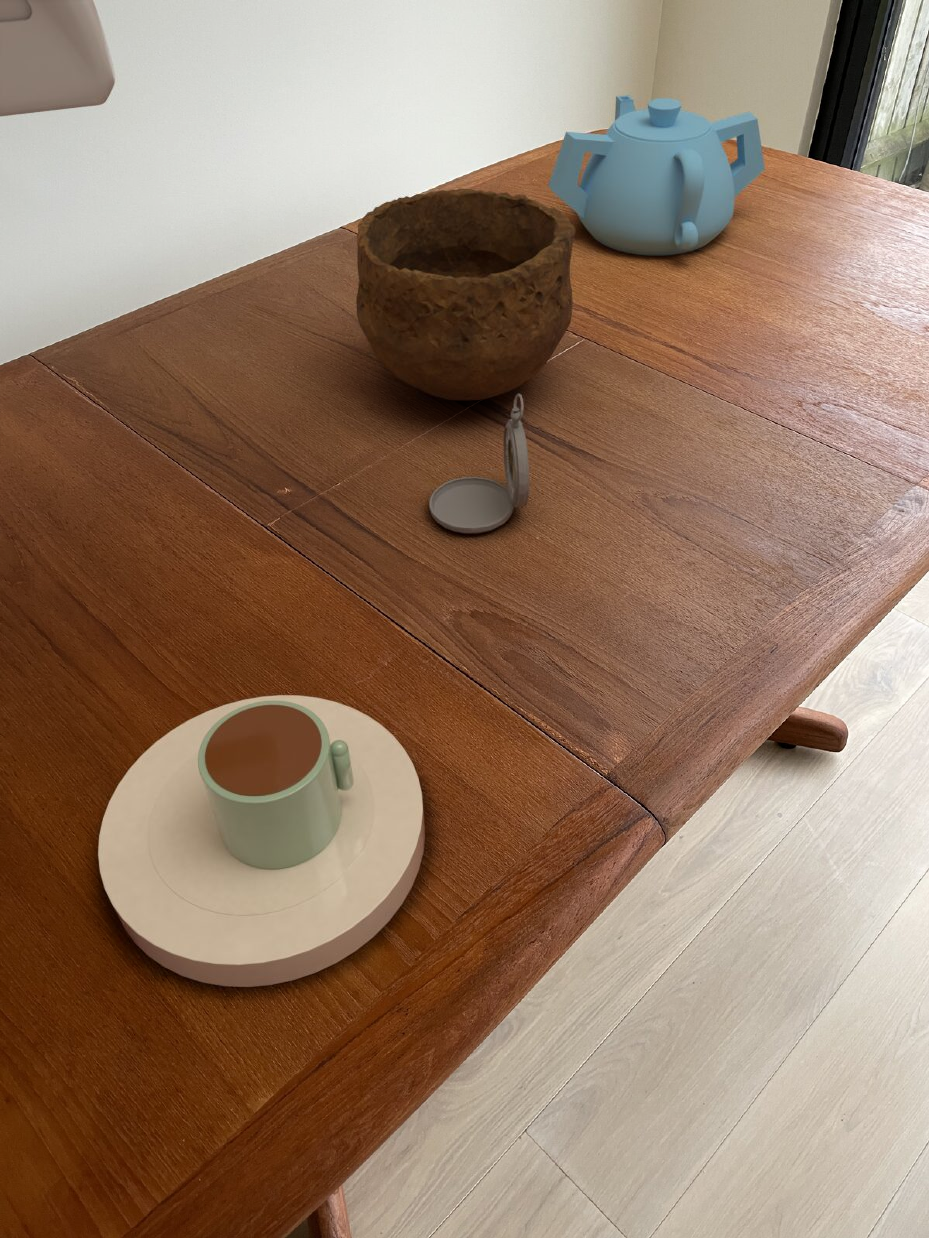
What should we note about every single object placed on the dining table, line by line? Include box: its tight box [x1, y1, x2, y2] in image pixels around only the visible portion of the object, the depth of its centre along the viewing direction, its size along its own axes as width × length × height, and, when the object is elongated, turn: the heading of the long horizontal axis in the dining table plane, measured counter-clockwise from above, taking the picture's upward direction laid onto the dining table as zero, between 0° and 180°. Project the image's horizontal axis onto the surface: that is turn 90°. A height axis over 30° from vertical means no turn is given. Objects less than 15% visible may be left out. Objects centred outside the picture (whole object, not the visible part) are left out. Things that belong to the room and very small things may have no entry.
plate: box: [97, 694, 426, 988], centre depth 58 cm, size 18×18×2 cm
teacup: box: [198, 701, 354, 869], centre depth 55 cm, size 8×7×6 cm
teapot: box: [547, 94, 766, 257], centre depth 113 cm, size 19×19×14 cm
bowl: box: [356, 188, 577, 401], centre depth 89 cm, size 19×19×15 cm
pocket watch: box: [428, 393, 531, 534], centre depth 77 cm, size 8×8×10 cm
